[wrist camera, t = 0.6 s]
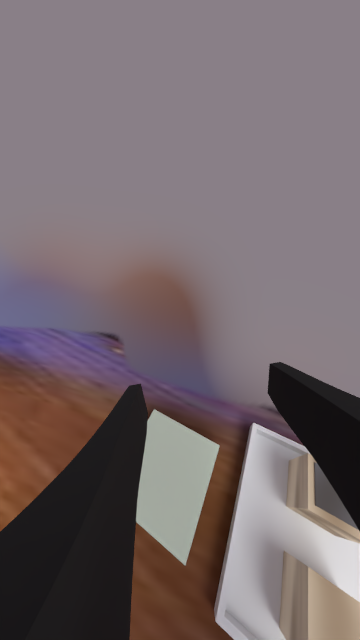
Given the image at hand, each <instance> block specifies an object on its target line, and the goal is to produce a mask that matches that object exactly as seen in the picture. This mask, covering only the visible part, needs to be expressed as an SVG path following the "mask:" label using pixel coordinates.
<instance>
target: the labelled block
mask: <svg viewBox="0 0 360 640" xmlns="http://www.w3.org/2000/svg"><path fill="white" fill-rule="evenodd" d="M286 507H288V508H290V509H291V510H293V511H295V512H296V513H298V514H300V515H301V516H303V517H305V518H306V519H308V520H310V521H311V522H313V523H315V524H316V525H318V526H319V527H321V528H323V529H324V530H326V531H328V532H329V533H331V534H333V535H334V536H337V537H340V538H344V539H347V540H350V541H353V542H357V543H360V531H359V529H358V528H357V526H356V524H355V523H354V521H353V519H352V518H351V516H350V514H349V513H348V511H347V510H346V508H345V506H344V505H343V503H342V501H341V500H340V498H339V497H338V495H337V493H336V492H335V490H334V489H333V487H332V485H331V484H330V482H329V481H328V479H327V478H326V476H325V475H324V473H323V471H322V470H321V468H320V467H319V465H318V464H317V462H316V461H315V460H314V458H313V457H312V455H311V454H308V453H307V454H305V455H302V456H299V457H297V458H294V459H292V460H289V466H288V483H287V500H286Z"/></svg>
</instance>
